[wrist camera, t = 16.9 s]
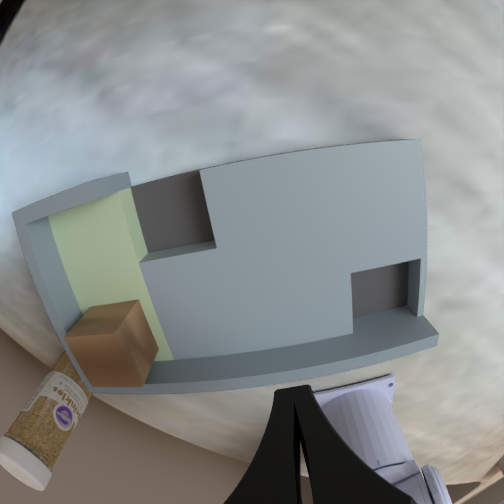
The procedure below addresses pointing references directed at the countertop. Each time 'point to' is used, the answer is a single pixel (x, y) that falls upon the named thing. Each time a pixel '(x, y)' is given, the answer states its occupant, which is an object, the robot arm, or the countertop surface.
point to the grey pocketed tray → (246, 264)
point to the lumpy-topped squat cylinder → (501, 464)
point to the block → (114, 345)
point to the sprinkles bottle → (44, 425)
